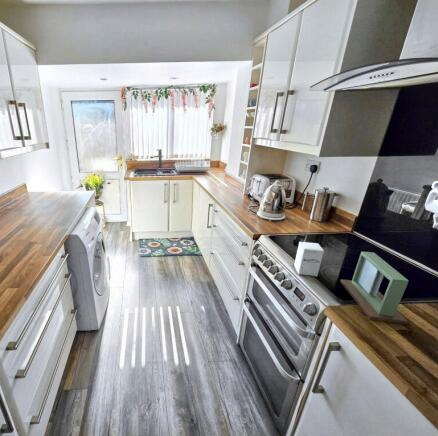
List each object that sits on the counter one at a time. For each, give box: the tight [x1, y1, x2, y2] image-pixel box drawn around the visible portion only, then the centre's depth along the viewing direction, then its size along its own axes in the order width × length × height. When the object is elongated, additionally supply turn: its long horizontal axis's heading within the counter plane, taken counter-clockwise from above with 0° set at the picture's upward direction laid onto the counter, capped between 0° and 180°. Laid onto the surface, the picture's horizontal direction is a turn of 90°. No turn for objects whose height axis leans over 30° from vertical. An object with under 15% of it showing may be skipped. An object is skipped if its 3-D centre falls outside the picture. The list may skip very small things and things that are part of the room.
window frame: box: [339, 251, 409, 325], centre depth 84 cm, size 10×21×15 cm, turn 165°
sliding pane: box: [371, 271, 385, 296], centre depth 86 cm, size 5×8×11 cm, turn 165°
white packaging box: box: [293, 241, 325, 277], centre depth 103 cm, size 7×7×13 cm
